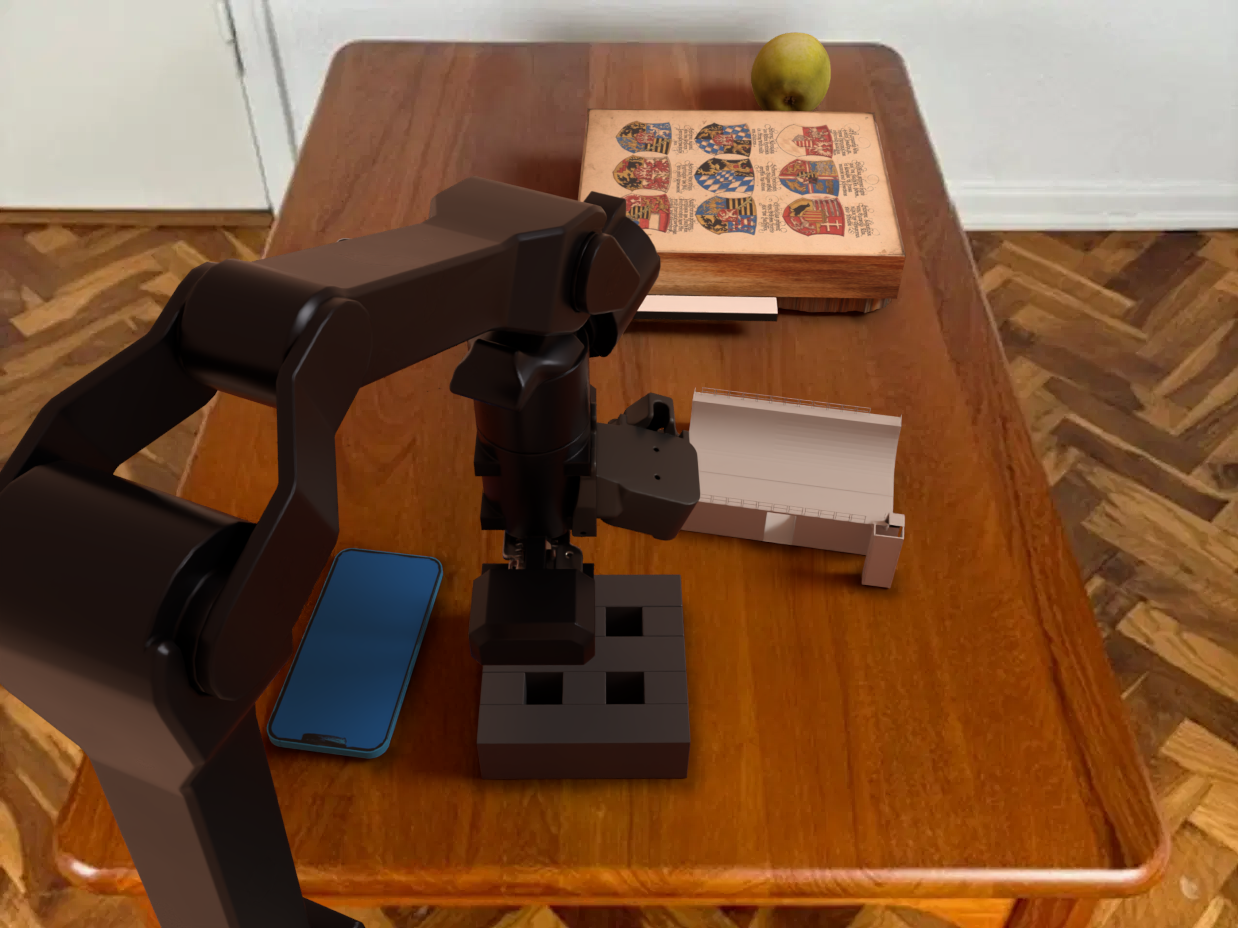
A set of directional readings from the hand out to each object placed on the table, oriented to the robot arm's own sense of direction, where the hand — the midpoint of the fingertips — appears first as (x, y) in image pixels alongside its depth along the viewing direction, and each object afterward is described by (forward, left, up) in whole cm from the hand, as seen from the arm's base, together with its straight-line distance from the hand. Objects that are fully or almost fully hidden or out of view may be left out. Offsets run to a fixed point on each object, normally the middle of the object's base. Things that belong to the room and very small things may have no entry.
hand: (544, 603), depth 71 cm
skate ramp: (+19, -9, -6) cm, 22 cm away
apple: (+69, +8, -6) cm, 70 cm away
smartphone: (-4, +11, -6) cm, 13 cm away
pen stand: (-1, -3, -6) cm, 7 cm away
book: (+45, +6, -6) cm, 46 cm away
